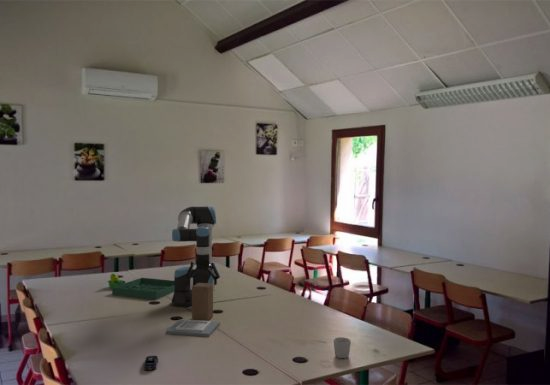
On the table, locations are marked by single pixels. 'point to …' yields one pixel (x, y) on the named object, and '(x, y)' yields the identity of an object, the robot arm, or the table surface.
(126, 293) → the maze
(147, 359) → the race car
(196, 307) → the wooden block
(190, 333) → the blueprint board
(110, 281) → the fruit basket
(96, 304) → the table surface
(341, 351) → the cup
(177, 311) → the table surface
